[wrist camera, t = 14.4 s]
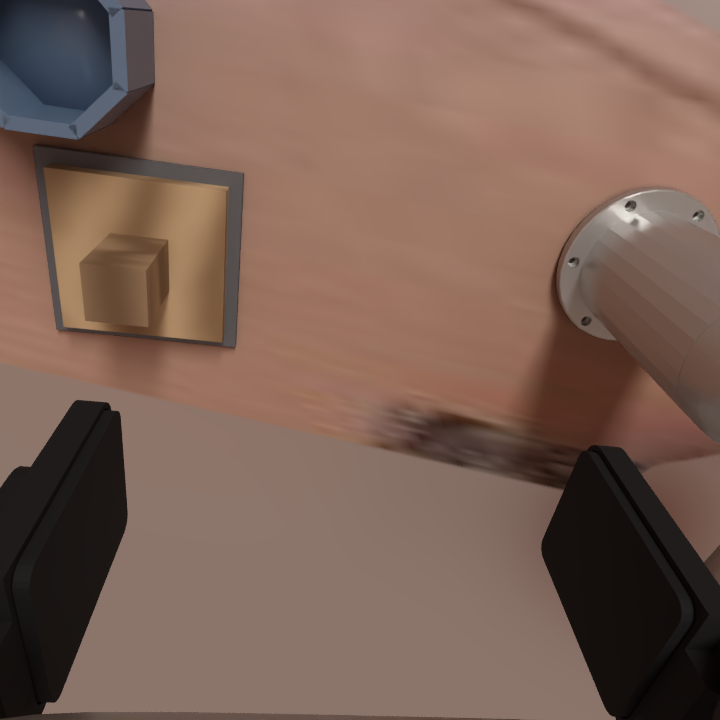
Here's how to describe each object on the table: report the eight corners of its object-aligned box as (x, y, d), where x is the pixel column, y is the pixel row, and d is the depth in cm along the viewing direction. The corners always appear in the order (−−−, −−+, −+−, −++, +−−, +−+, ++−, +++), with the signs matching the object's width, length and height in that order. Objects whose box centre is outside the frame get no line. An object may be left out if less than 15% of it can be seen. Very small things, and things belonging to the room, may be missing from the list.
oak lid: (228, 187, 40) (211, 216, 34) (224, 335, 46) (209, 383, 40) (50, 163, 39) (-1, 189, 33) (69, 319, 45) (29, 367, 39)
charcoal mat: (244, 173, 41) (243, 174, 40) (236, 344, 47) (235, 347, 47) (35, 144, 39) (32, 145, 38) (58, 326, 46) (56, 329, 45)
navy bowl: (151, -47, 34) (120, -60, 29) (156, 130, 39) (130, 147, 34) (-29, -80, 33) (-95, -100, 27) (-1, 108, 38) (-52, 121, 32)
